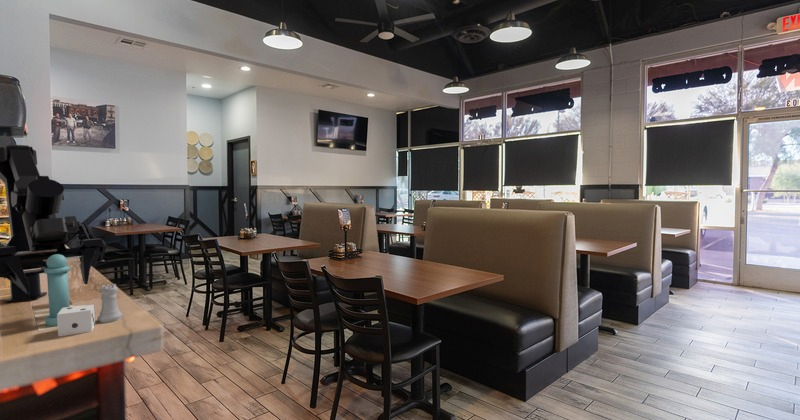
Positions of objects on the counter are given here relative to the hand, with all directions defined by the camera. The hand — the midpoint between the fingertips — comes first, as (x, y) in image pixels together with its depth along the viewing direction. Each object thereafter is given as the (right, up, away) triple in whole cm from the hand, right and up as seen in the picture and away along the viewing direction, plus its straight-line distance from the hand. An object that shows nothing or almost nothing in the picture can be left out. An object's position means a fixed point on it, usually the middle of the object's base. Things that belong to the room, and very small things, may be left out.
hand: (58, 287), depth 83 cm
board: (-6, -8, +7) cm, 12 cm away
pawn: (0, -7, +1) cm, 7 cm away
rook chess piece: (+9, -8, +2) cm, 12 cm away
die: (+7, -8, -4) cm, 11 cm away
